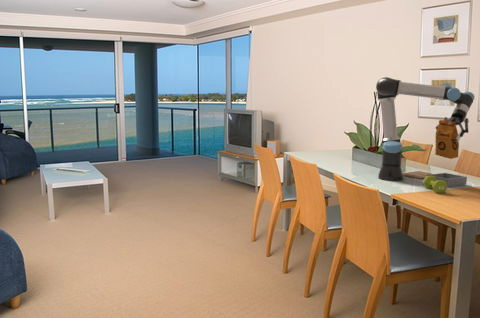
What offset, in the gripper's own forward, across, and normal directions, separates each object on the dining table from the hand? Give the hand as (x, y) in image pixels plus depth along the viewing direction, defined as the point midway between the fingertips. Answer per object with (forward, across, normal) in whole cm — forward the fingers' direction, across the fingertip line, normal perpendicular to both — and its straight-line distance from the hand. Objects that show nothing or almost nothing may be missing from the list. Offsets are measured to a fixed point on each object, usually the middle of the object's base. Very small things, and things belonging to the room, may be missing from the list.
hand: (446, 139), depth 263 cm
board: (+10, +22, -29) cm, 37 cm away
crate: (+18, -1, -20) cm, 27 cm away
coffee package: (+6, 0, -9) cm, 11 cm away
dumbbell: (+35, -5, -4) cm, 35 cm away
